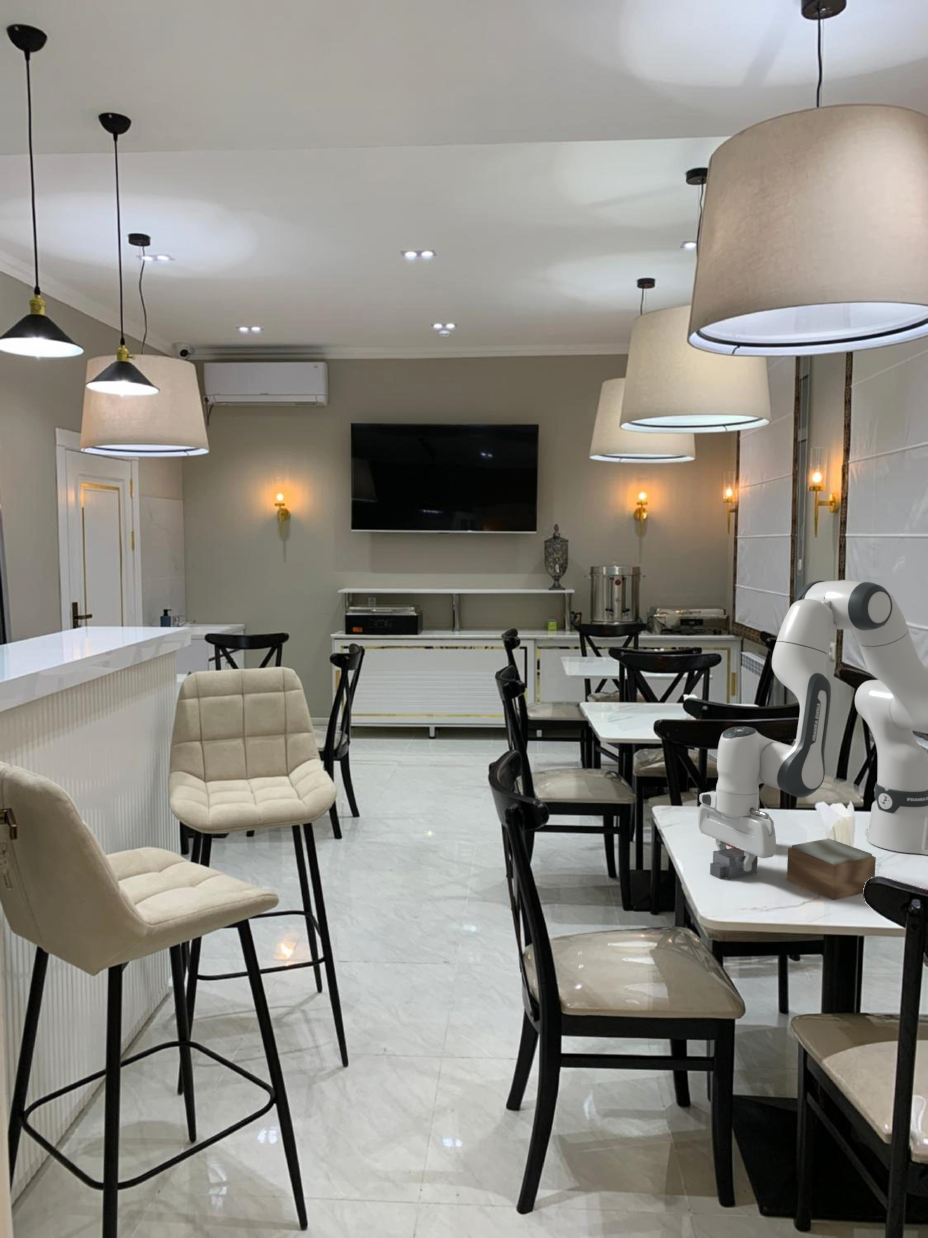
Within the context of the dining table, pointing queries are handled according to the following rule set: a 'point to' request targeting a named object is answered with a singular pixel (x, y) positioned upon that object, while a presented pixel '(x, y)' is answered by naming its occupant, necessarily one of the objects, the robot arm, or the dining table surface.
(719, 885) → the dining table surface
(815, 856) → the stand
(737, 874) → the block
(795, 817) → the dining table surface
